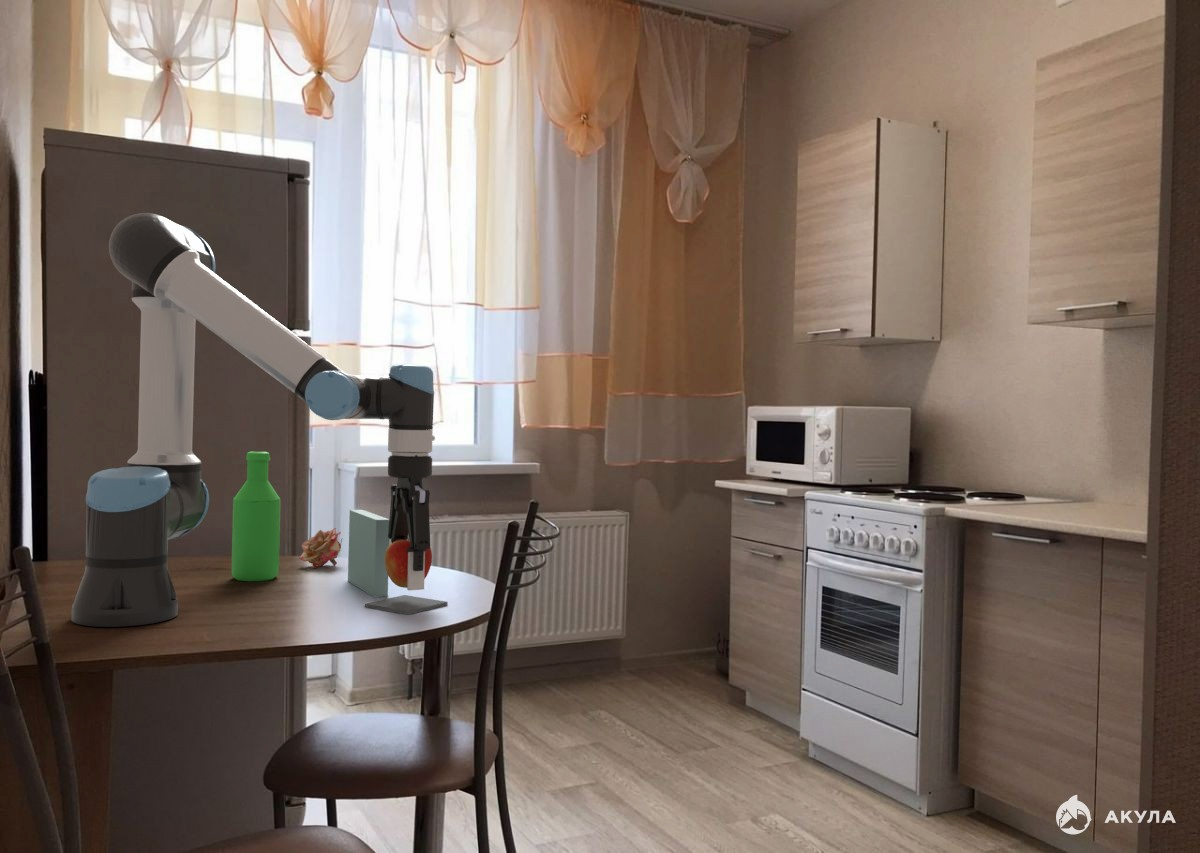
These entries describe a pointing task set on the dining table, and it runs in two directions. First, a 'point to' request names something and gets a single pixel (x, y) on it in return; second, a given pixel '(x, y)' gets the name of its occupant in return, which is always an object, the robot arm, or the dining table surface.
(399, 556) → the apple
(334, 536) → the flower
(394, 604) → the coaster
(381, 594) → the grey-green flat block
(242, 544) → the bottle
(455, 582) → the dining table surface
